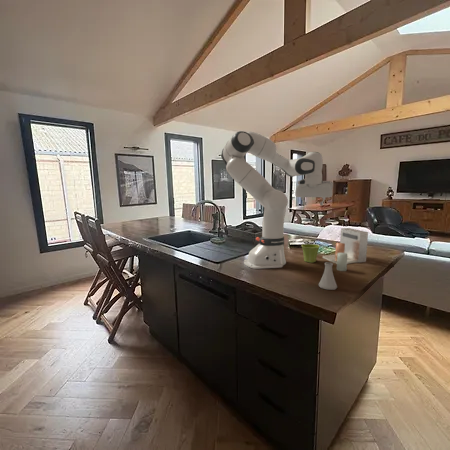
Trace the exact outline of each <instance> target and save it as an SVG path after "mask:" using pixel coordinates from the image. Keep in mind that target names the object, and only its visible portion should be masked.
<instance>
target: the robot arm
mask: <svg viewBox="0 0 450 450" xmlns="http://www.w3.org/2000/svg"><path fill="white" fill-rule="evenodd" d="M248 153H249V154H251V155H252V156H254V157H256V158H258V159H261V160H264V161H267V162H269V163H271V164H272V165H274V166H276V167H278V168H279V169H281V170H282V171H283V173H285V174H286V175H287V176H288V177H292V178H293V177H298V176H299V177H300V176H305V178H303V179H300V180H298V181H297V186H296V187H295V197H296V198H301V201H302V203H303V205H304V206H306V205H307V201H305V198H322V201H320V202H319V205H320V206H324V202H325V201H326V198H331V197H332V196H333V188H334V183H333V181H331V180H323V174H322V171H323V166H324V165H323V163H324V162H323V155H322V153H320V152H318V151H309V152H307V154H305V155H304V156H303V155H302V157H301V156H300V157H299V158H294V159H288V158H286V157H284V156H282V155H281V154H279V153H278V152H277V145H276V142H274V141H272V139H270V138H269V137H267V136H265V135H262V134H261V133H257V132H254V131H244V130H243V131H241V130H240V131H237V132H235V133H233V135H232V137H231V138H230V139H229V140H228V141H227V142H226V143H225V145H224V147H223V149H222V151H221V154H220V155H221V157H220V158H221V159H222V161H223V163H224V164H225V168H226V172H227V174H228V175H229V176H230V177H231V178H232V179H233V180H234V181H235V182H236V183H237V184H238V185H239V186H240V187H241V188H242V189H244V190H245V192H247V193H248V194H249V195H250V196H251V197H252V198H253V199H254V200H255V201H256V202H257V203H259V204H260V205H261V206H262V207H263V208H264V209H263V218H262V227H261V228H262V230H261V231H262V233H261V237H259V236H257V237H256V238H255V240H256V241H257V242H259V243H258V244H257V245H256V246H255V247H253V248H252V249H251V250H250V251H249V252H248V257H247V258H246V259H244V260H243V263H244V265H245V266H246V267H248V268H251V269H253V270H258V269H277V268H279V269H280V268H283V267H284V266H285V265H286V264H287V261H286V257H285V249H284V247H285V236H284V231H285V229H284V224H285V218H286V217H285V216H286V211H287V206H288V204H289V202H288V197H287V195H286V194H285V192H283V191H282V190H280V189H276V188H274V187H273V186H272V185H271V184H270V183H269V182H268V180H267V179H266V177H264V176H263V175H262V174H261V173H260V172H259V171H258V170H256V169H255V167H253V166H252V165H251V164H250V163H248V162H247V161H246V158H245V156H246V155H247V154H248Z"/></svg>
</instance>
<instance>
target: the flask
mask: <svg viewBox="0 0 450 450" xmlns="http://www.w3.org/2000/svg"><path fill="white" fill-rule="evenodd" d="M333 265H334V263H333V262H331V261H329V262H324V270H323V273H322V277H321V278H320V281H319V282H318V287H320V289H324V290H327V291H328V290H329V291H330V290H332V291H333V290H336V289H337V288H338V285H337V281H336V280H335V279H336V278H335V277H334V273H333Z"/></svg>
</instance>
